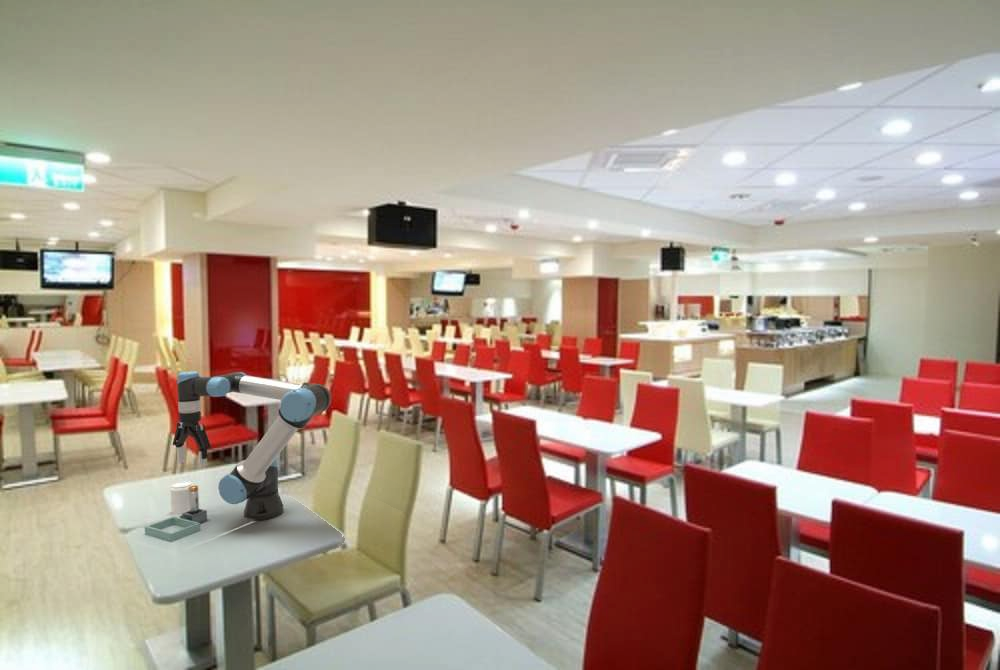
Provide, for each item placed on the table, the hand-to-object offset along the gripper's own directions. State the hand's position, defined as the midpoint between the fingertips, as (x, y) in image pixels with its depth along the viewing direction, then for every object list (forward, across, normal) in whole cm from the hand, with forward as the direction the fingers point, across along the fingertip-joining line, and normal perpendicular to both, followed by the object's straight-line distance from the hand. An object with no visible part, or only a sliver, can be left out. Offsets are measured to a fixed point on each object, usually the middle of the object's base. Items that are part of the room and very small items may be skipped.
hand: (192, 465), depth 211 cm
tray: (+24, -2, +10) cm, 26 cm away
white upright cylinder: (+24, +17, -6) cm, 30 cm away
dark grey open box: (+24, +2, 0) cm, 24 cm away
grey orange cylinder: (+23, 0, 0) cm, 23 cm away
